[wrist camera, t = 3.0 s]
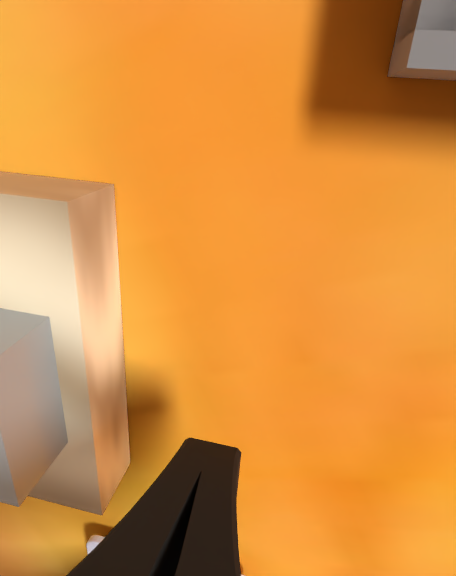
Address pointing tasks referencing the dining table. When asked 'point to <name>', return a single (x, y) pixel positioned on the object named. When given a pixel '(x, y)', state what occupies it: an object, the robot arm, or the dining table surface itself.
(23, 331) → the tile slate
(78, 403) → the board
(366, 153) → the dining table surface
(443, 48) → the gray open frame
